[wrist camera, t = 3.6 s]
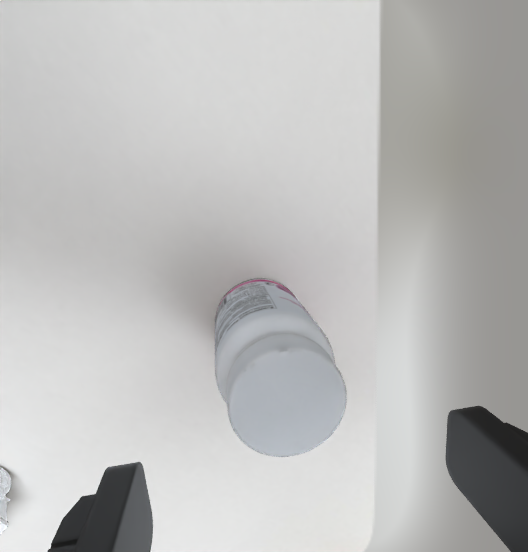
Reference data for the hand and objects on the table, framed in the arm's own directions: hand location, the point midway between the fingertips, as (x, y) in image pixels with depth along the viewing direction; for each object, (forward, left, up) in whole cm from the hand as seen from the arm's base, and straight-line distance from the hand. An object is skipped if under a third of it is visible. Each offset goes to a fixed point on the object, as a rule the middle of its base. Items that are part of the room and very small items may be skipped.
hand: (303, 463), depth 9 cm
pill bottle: (0, 0, -11) cm, 11 cm away
